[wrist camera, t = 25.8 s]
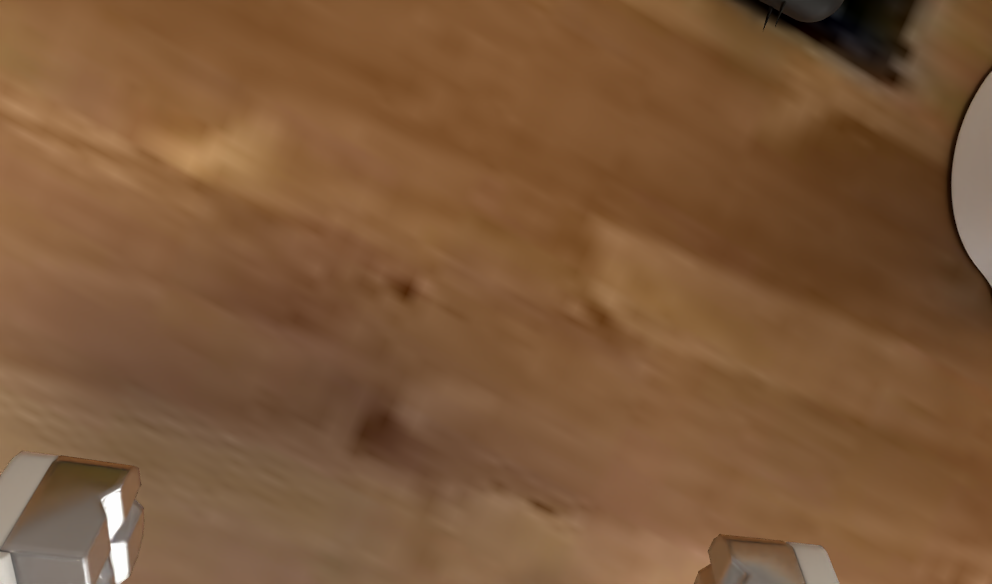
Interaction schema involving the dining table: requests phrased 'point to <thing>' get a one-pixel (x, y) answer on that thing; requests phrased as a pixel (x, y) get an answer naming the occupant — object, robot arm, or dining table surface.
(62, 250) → the dining table surface
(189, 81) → the dining table surface
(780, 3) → the gun
